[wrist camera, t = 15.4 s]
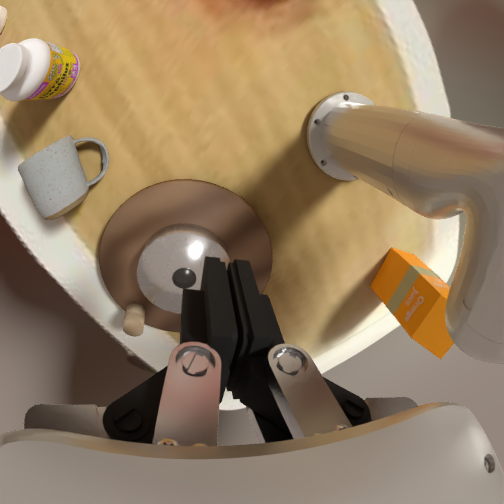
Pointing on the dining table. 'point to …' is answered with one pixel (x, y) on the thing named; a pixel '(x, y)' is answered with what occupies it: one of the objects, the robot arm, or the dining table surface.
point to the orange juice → (415, 299)
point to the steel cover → (176, 263)
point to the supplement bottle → (36, 70)
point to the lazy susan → (168, 213)
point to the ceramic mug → (59, 177)
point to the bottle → (2, 17)
